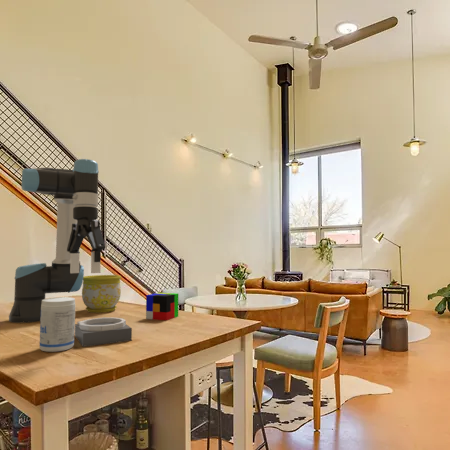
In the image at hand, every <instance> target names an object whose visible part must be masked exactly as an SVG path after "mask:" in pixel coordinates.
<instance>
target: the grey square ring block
mask: <svg viewBox="0 0 450 450" xmlns="http://www.w3.org/2000/svg"><path fill="white" fill-rule="evenodd" d="M126 320H127V319H125V318H120V317H96V318H95V317H94V318H91V319H90V318H89V319H84V320H81V321H77V323H75V330H74V338H76V340H77V341H78V342H79V344H80V345H81V346H82V347H83V348H84V347H90V346H91V347H92V346H99V345H108V344H115V343H122V342H123V343H124V342H131V341H132V337H133V334H132V332H133V331H132V330H133V329H132V327H131V326H129V325H128V324H126V323H127V322H126Z"/></svg>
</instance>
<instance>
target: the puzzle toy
mask: <svg viewBox="0 0 450 450" xmlns="http://www.w3.org/2000/svg"><path fill="white" fill-rule="evenodd" d="M145 296H146V297H145V298H146V299H145V300H146V301H145V319H146V320H154V321H155V320H157V321H170V320H172V319H175V318H177V317H179V293H174V292H173V293H171V292H155V293H151V294H147V295H145Z"/></svg>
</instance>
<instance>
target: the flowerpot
mask: <svg viewBox="0 0 450 450" xmlns="http://www.w3.org/2000/svg"><path fill="white" fill-rule="evenodd" d="M121 279H122V276H121V275H118V274H117V275H116V274H100V275H99V274H97V275H86V276H85V275H84V277H83V282H82V289H81V297H82V298H81V299H82V302H83V304H84V305H85V306H86V307H85V310H86V311H87V312H88V313H95V314H98V313H101V314H102V313H111V312H113V311H114V312H115V310H116V309H117V305H118V303H119V301H120V299H121V296H122V295H121V291H122V290H121V289H122V288H121Z"/></svg>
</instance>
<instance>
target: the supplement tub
mask: <svg viewBox="0 0 450 450" xmlns="http://www.w3.org/2000/svg"><path fill="white" fill-rule="evenodd" d="M75 318H76V298H74V297H70V296H69V297H65V296H64V297H63V296H62V297H61V296H59V297H48V298H45V299H43V300H42V304H41V318H40V321H39V322H40V324H39V350H41V351H42V352H47V353H55V352H56V353H57V352H63V351H67V350H70V349H71V348H73V347H74V345H75V324H76V319H75Z"/></svg>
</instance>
